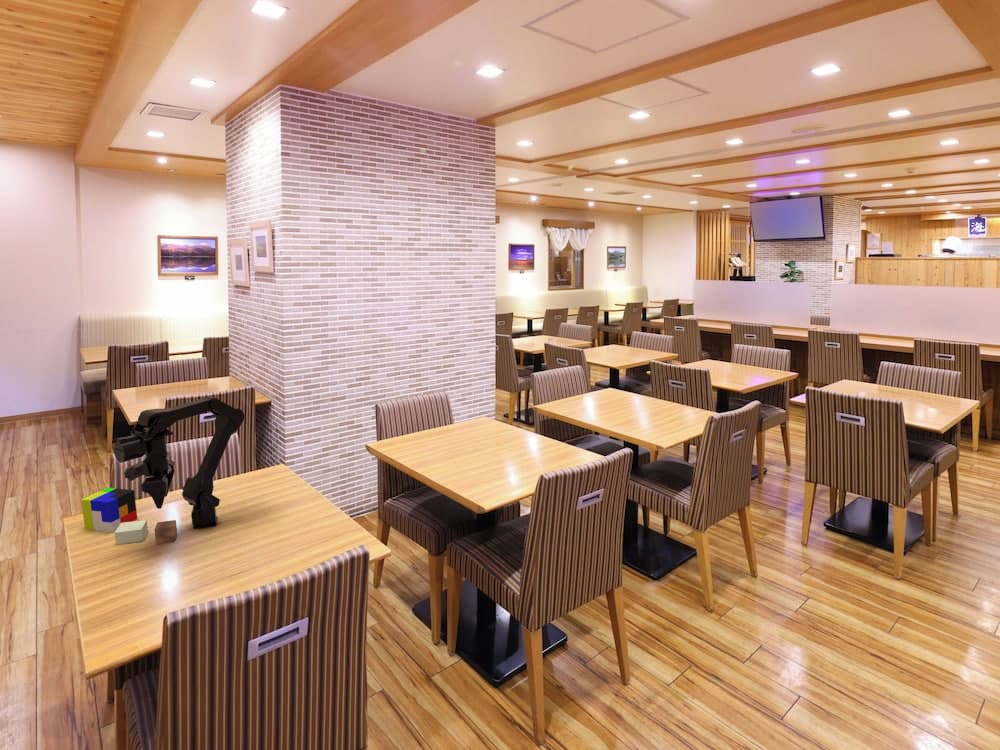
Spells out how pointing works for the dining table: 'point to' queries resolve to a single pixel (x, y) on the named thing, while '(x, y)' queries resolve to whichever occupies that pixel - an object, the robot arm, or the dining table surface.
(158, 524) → the walnut cube
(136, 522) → the base block
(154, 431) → the robot arm
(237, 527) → the dining table surface
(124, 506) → the puzzle toy
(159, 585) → the dining table surface
